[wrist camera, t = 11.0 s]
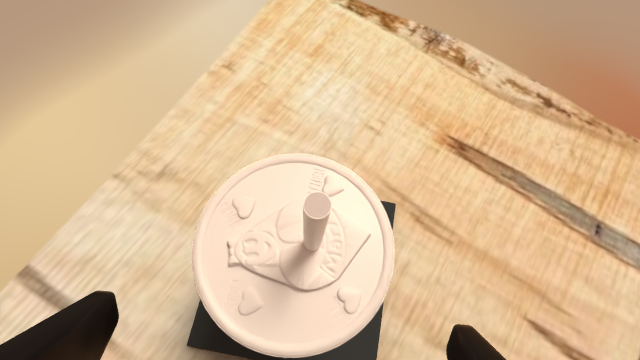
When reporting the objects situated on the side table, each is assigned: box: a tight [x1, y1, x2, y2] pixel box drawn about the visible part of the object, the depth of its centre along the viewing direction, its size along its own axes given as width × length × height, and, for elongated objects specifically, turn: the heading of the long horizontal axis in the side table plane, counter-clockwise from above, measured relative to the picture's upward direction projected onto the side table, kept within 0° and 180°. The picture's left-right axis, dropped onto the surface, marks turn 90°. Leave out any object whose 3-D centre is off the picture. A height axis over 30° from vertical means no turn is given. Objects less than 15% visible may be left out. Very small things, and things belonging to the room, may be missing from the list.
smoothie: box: [192, 153, 395, 358], centre depth 13 cm, size 6×6×14 cm
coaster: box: [187, 201, 396, 360], centre depth 20 cm, size 10×10×1 cm
